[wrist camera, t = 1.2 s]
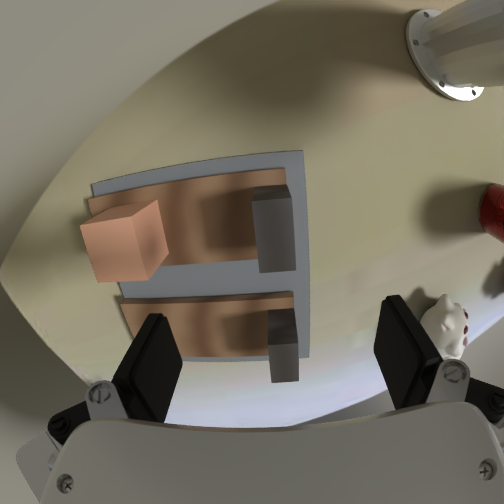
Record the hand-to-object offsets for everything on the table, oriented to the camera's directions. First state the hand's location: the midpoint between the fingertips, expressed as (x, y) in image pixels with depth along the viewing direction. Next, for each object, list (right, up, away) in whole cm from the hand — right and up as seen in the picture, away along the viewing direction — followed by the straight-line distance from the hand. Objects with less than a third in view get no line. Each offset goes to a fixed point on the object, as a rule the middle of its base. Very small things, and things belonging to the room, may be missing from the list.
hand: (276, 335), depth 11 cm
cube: (-13, +6, +17) cm, 22 cm away
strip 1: (-8, +7, +18) cm, 20 cm away
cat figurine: (+27, -7, +23) cm, 36 cm away
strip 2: (-7, -6, +23) cm, 25 cm away
